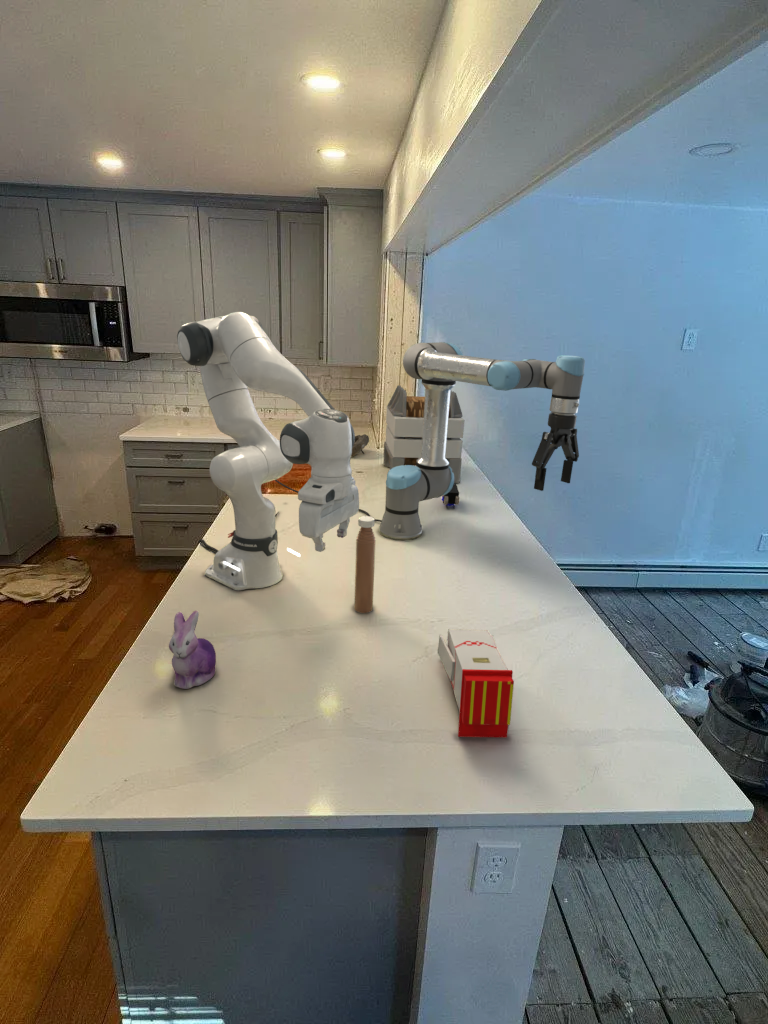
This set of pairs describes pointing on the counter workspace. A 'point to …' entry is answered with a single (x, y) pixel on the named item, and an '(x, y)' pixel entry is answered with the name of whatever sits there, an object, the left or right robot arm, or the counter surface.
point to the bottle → (364, 570)
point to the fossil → (359, 444)
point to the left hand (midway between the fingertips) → (331, 543)
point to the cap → (366, 521)
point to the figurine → (191, 653)
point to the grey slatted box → (419, 431)
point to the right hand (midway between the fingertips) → (552, 485)
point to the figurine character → (451, 497)
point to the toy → (478, 682)
